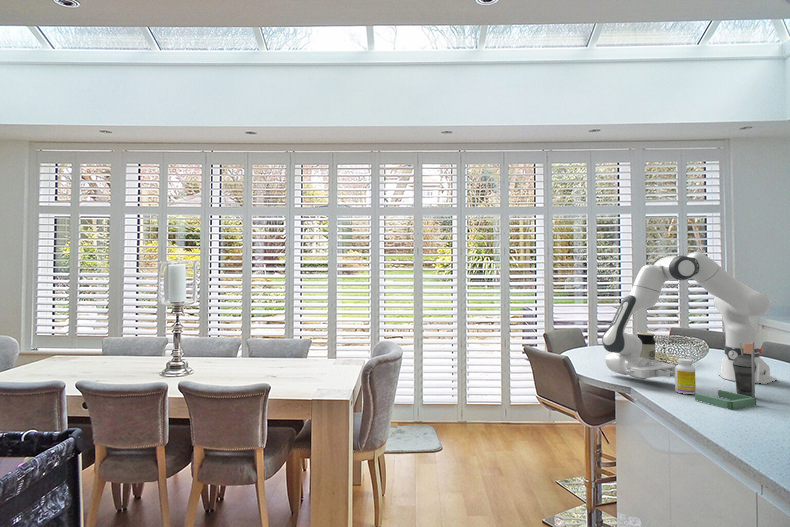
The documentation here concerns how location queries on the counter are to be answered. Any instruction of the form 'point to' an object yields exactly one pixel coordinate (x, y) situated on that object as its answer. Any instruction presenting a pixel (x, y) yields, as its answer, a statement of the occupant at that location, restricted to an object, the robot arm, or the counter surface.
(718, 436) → the counter surface
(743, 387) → the beverage cup
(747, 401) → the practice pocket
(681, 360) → the supplement bottle
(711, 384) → the counter surface
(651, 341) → the travel mug
